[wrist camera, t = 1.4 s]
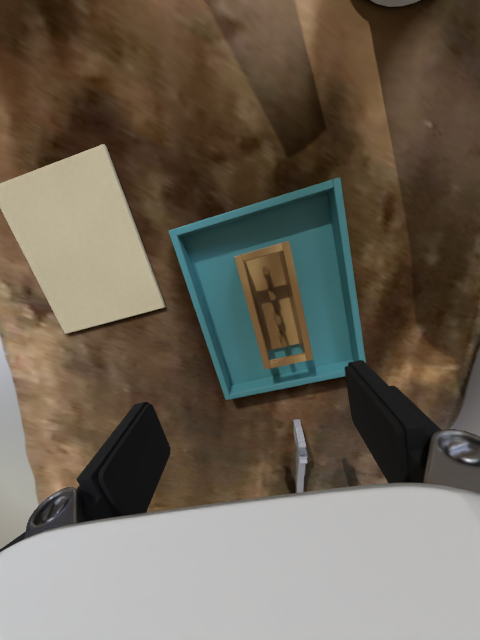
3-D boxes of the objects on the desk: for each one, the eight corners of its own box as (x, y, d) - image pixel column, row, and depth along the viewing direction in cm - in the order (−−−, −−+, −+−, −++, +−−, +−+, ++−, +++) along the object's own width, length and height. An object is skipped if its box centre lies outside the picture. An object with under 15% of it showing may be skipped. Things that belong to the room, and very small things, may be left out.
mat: (106, 145, 27) (103, 143, 27) (166, 306, 32) (164, 307, 32) (-7, 188, 29) (-11, 187, 29) (67, 333, 34) (64, 334, 34)
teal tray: (332, 183, 27) (340, 176, 24) (358, 362, 33) (367, 371, 30) (175, 232, 29) (168, 230, 27) (227, 389, 36) (225, 400, 33)
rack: (283, 242, 29) (289, 240, 24) (304, 343, 32) (313, 359, 28) (237, 255, 30) (233, 256, 25) (263, 352, 33) (264, 370, 28)
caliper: (292, 416, 36) (299, 449, 30) (299, 416, 36) (307, 449, 30) (295, 509, 42) (301, 552, 36) (301, 509, 42) (309, 553, 36)
